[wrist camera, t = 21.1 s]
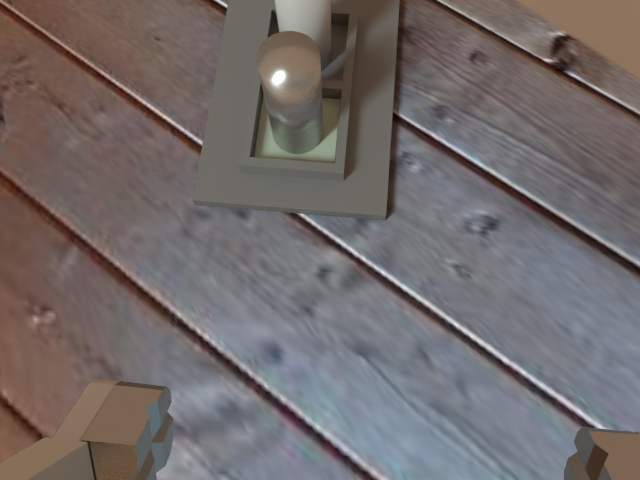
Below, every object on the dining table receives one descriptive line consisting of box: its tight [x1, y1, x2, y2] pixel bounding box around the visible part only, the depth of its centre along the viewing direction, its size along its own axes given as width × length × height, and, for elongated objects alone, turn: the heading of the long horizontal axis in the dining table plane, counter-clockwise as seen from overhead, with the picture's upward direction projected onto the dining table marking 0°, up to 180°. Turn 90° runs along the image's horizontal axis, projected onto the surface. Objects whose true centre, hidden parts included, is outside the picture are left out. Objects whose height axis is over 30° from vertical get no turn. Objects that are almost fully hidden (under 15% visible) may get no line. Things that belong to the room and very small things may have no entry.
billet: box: [256, 31, 324, 154], centre depth 43 cm, size 4×4×10 cm
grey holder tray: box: [193, 0, 400, 220], centre depth 45 cm, size 16×22×11 cm
